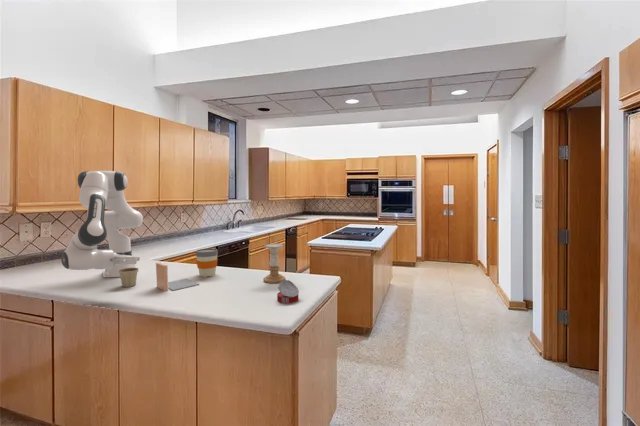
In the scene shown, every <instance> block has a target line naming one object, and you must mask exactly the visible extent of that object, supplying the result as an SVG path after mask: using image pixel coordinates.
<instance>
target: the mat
mask: <svg viewBox="0 0 640 426" xmlns="http://www.w3.org/2000/svg"><path fill="white" fill-rule="evenodd" d="M196 285H197V286H200V283H198V282H196V281H193V280H192V279H191V280H190V279H188V278H182V279H177V280H173V281H168V290H170V291H172V292H173V291H178V290H183V289H184V290H185V289H187V288H192V287H195V286H196ZM197 286H196V287H197Z"/></svg>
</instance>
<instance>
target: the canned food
mask: <svg viewBox="0 0 640 426" xmlns="http://www.w3.org/2000/svg"><path fill="white" fill-rule="evenodd" d="M277 288H278V291H279V292H278V293H277V294H276V297H277V298H276V299H277V300H276V301H277V302H278V303H281V304H293V302H294V303H297V302H298V301H299V293H300V291H299V289H298V287H297V286H296V284H295V283H293V282H292V281H291V280H290V279H285V280H284V281H282V282H280V283H278V287H277ZM296 301H297V302H296Z"/></svg>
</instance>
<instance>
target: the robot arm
mask: <svg viewBox="0 0 640 426" xmlns="http://www.w3.org/2000/svg"><path fill="white" fill-rule="evenodd" d="M128 183H129V181H128V177H127V175H126V173H124V172H122V171H118V170H116V171H114V170H90V171H89V170H87V171H81V172H80V173H79V174H78V176H77V185H78V187H79V195H78V198H79V199H78V200H79V204H80V205H81V206H82V207H84V208H86V209H87V212H86V220H85V222H84V223H83V224H82V225H81V226H80V228H79V229H78V230H77V231H76V233H74V234H73V235H72V237H71V238H70V241H69V244H68V245H67V248H66V249H65V250H64V251H62V253H61V255H60V256H61V257H60V260H61V261H60V262H61V264H62V266H63V267H64V268H65V269H67V270H70V271H73V270H74V271H89V270H92V269H93V270H103V271H101V272H102V278H121V276H120V274H119V272H118V271H119V270H121V269H125V268H137V266H136V264H137V263H138V262H140V257H138V256H136V255H133V250H132V247H131V245H132V244H131V238H130V237H129V236H128V235H126V234H124V233H122V232H121V231H120V230H122V229H123V230H124V229H125V230H126V229H135V228H138V227H140V226H142V224H143V222H144V216H143V214H142V213H141V212H140V211H138V210H136V209H135V208H133V207H132V206H130V204H128V202H127V200H126V197H125V192H124V191H125V190H126V188H127V187H128ZM106 209H107V210H106ZM106 238H107V242H108V249H98V245H100V244H101V243H102V242H105V241H104V240H106ZM139 271H140V269H139V270H138V272H139Z"/></svg>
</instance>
